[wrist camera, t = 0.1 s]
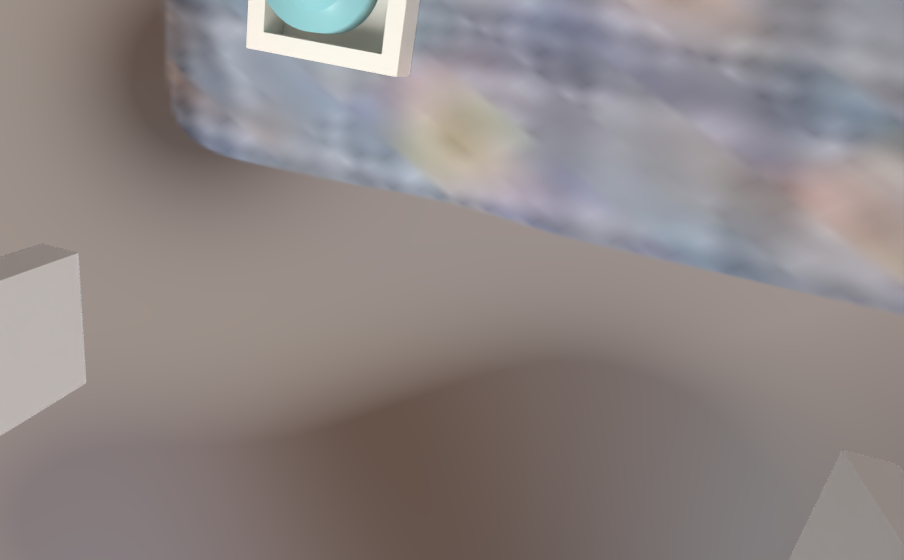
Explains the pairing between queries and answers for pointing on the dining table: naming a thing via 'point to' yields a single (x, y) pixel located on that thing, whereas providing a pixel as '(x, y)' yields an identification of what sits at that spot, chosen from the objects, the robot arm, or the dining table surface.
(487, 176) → the dining table surface
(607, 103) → the dining table surface
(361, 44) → the housing
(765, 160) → the dining table surface
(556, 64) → the dining table surface
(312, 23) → the light blue round piece
